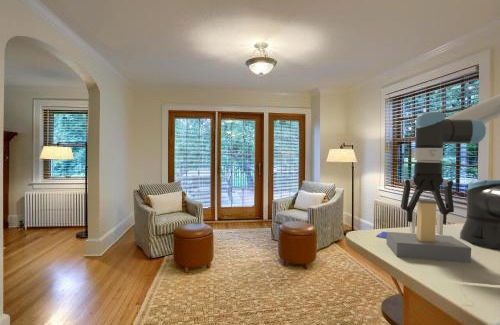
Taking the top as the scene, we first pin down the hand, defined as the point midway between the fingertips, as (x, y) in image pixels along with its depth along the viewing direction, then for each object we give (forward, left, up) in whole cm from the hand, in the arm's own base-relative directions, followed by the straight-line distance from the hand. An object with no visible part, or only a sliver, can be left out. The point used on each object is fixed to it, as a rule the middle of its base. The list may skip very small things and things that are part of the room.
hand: (425, 232), depth 90 cm
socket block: (0, 0, -7) cm, 7 cm away
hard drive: (+4, -15, -8) cm, 17 cm away
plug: (0, 0, -5) cm, 5 cm away
